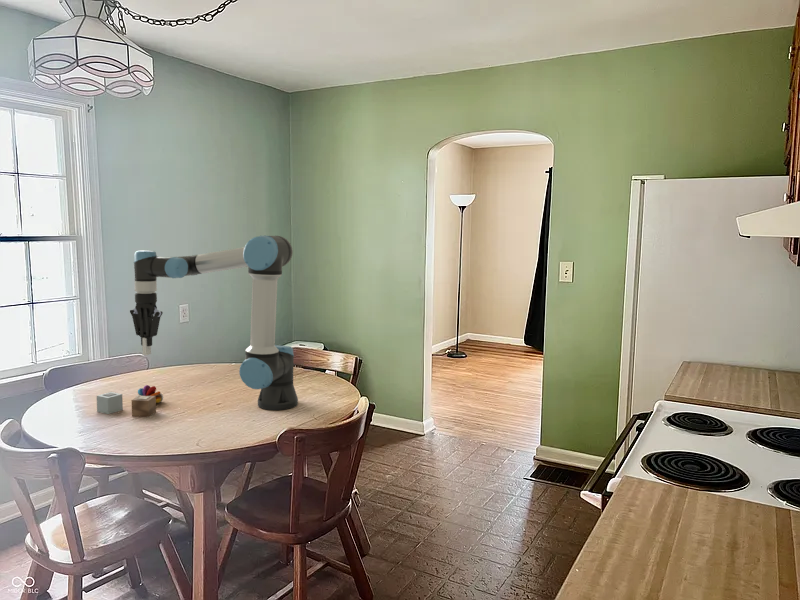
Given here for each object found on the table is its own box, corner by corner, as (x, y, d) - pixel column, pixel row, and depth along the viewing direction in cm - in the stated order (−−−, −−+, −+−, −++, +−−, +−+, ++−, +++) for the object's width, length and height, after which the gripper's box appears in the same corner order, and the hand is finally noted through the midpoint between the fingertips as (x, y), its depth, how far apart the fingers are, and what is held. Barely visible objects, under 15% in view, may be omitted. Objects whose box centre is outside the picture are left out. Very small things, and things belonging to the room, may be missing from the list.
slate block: (122, 410, 217) (122, 393, 216) (108, 414, 211) (107, 397, 211) (111, 407, 219) (111, 391, 219) (97, 411, 214) (96, 395, 213)
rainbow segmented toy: (153, 408, 220) (153, 389, 219) (130, 406, 222) (129, 387, 221) (166, 402, 228) (166, 383, 227) (144, 400, 230) (143, 381, 229)
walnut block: (156, 412, 215) (155, 395, 215) (148, 417, 209) (148, 400, 209) (139, 411, 216) (139, 395, 215) (131, 416, 210) (131, 399, 209)
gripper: (167, 292, 222) (168, 354, 225) (138, 290, 226) (139, 351, 228) (153, 294, 215) (154, 357, 218) (124, 292, 218) (125, 354, 221)
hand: (146, 354), depth 223 cm, fingers closed
